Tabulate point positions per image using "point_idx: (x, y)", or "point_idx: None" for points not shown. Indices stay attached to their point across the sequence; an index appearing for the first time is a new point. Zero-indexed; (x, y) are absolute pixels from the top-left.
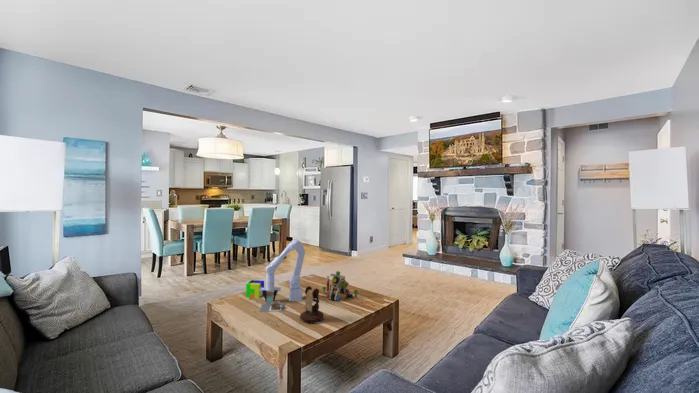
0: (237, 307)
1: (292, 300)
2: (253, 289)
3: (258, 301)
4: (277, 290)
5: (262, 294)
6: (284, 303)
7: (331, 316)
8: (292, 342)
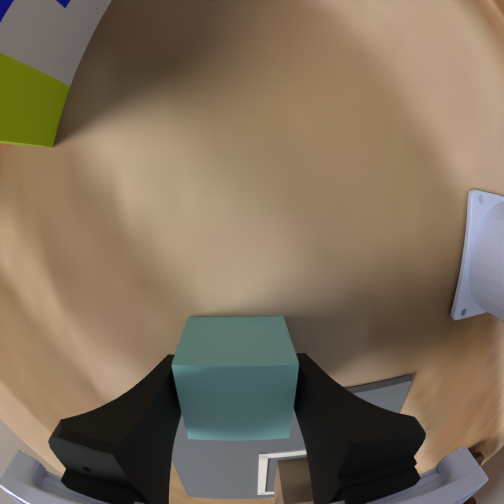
0: (3, 381)
1: (478, 307)
2: None
3: (72, 283)
4: (400, 500)
5: (93, 28)
6: (401, 389)
7: (494, 439)
8: None
